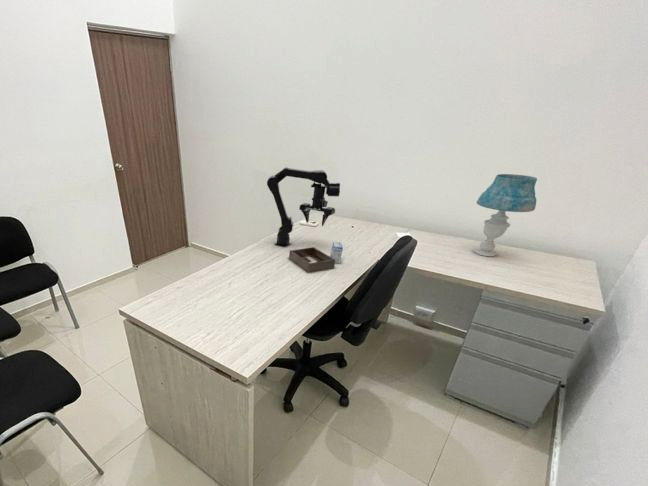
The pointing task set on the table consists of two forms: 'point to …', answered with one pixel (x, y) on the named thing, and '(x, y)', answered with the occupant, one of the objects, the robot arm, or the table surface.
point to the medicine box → (336, 251)
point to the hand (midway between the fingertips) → (314, 224)
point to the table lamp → (505, 205)
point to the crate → (316, 254)
